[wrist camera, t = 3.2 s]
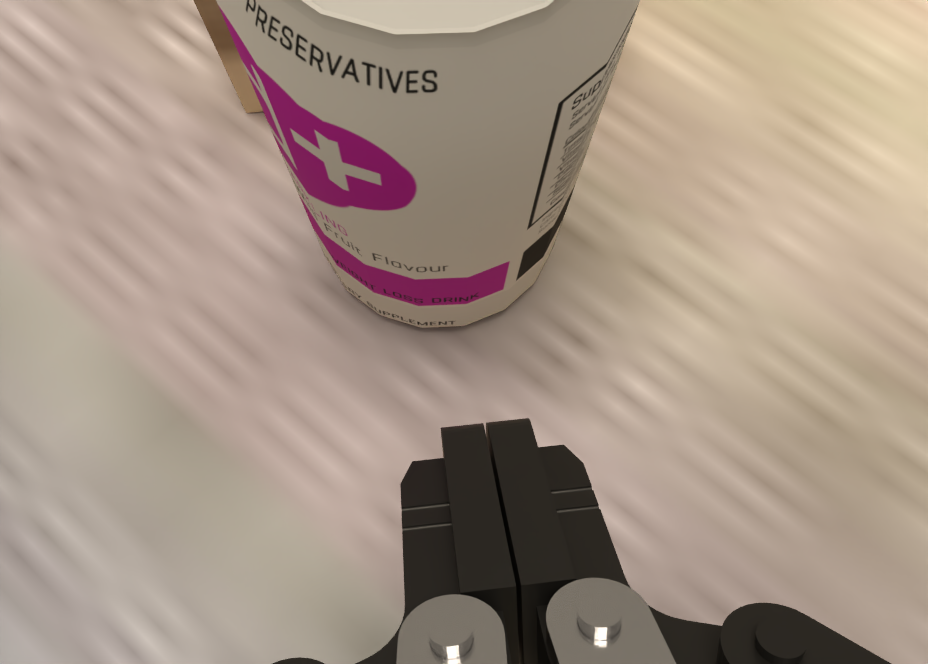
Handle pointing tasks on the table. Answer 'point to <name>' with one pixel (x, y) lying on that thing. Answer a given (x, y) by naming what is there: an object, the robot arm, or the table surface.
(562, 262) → the table surface
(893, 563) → the table surface
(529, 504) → the robot arm
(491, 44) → the supplement can
